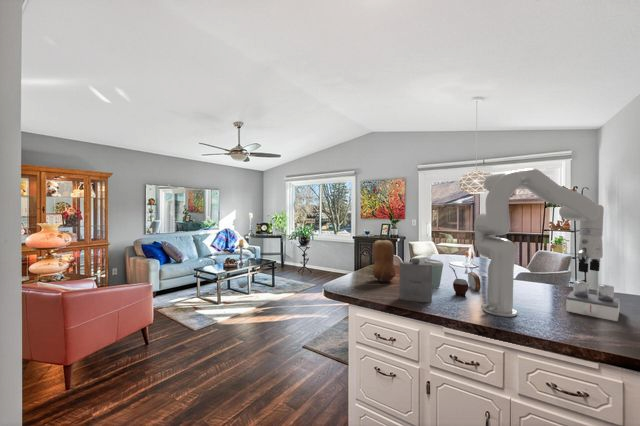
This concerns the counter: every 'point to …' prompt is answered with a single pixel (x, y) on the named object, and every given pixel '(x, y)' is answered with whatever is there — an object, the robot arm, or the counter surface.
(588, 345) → the counter surface
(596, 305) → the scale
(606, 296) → the spacer
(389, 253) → the butternut squash
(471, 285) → the bread slice
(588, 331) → the counter surface
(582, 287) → the spacer
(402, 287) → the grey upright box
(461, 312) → the counter surface
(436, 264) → the disposable coffee cup
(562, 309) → the counter surface
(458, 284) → the mate gourd
